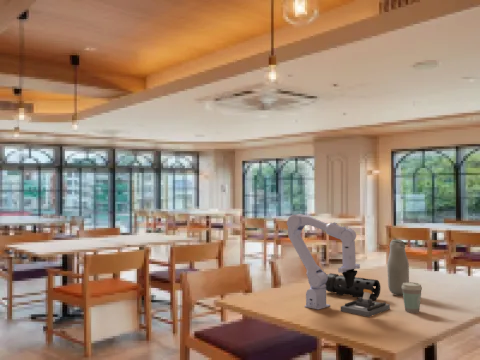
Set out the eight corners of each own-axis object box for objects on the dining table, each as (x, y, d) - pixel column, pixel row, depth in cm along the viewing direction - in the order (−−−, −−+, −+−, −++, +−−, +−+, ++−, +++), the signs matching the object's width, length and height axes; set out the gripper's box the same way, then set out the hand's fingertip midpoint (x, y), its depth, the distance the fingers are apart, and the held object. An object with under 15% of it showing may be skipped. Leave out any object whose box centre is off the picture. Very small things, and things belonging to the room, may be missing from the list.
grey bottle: (412, 294, 233) (410, 239, 233) (404, 298, 225) (403, 241, 226) (393, 291, 239) (392, 238, 240) (384, 295, 232) (383, 239, 232)
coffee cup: (420, 315, 195) (420, 286, 195) (399, 312, 200) (399, 284, 200) (424, 310, 202) (423, 283, 203) (404, 307, 207) (403, 281, 207)
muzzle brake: (372, 302, 217) (371, 281, 218) (321, 294, 236) (321, 274, 236) (381, 299, 225) (380, 277, 225) (331, 291, 243) (330, 271, 243)
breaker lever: (367, 299, 203) (370, 290, 204) (361, 298, 205) (363, 289, 207) (369, 301, 204) (372, 291, 206) (363, 300, 206) (365, 290, 208)
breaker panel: (368, 317, 193) (368, 304, 193) (340, 311, 203) (340, 299, 203) (389, 308, 205) (389, 297, 206) (362, 303, 215) (362, 292, 216)
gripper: (347, 258, 197) (348, 290, 196) (365, 255, 207) (366, 285, 206) (333, 257, 202) (334, 288, 201) (351, 253, 212) (352, 283, 212)
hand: (349, 286), depth 204 cm, fingers closed
